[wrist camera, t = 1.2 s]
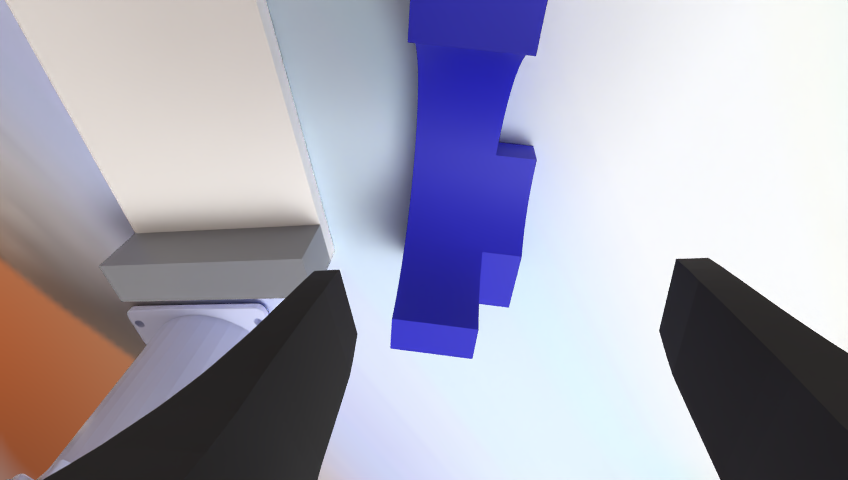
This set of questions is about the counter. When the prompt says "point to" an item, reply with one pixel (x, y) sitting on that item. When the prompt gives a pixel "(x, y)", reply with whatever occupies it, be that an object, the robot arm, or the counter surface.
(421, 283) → the cable clip
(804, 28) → the counter surface
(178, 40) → the clip dock
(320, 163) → the counter surface
